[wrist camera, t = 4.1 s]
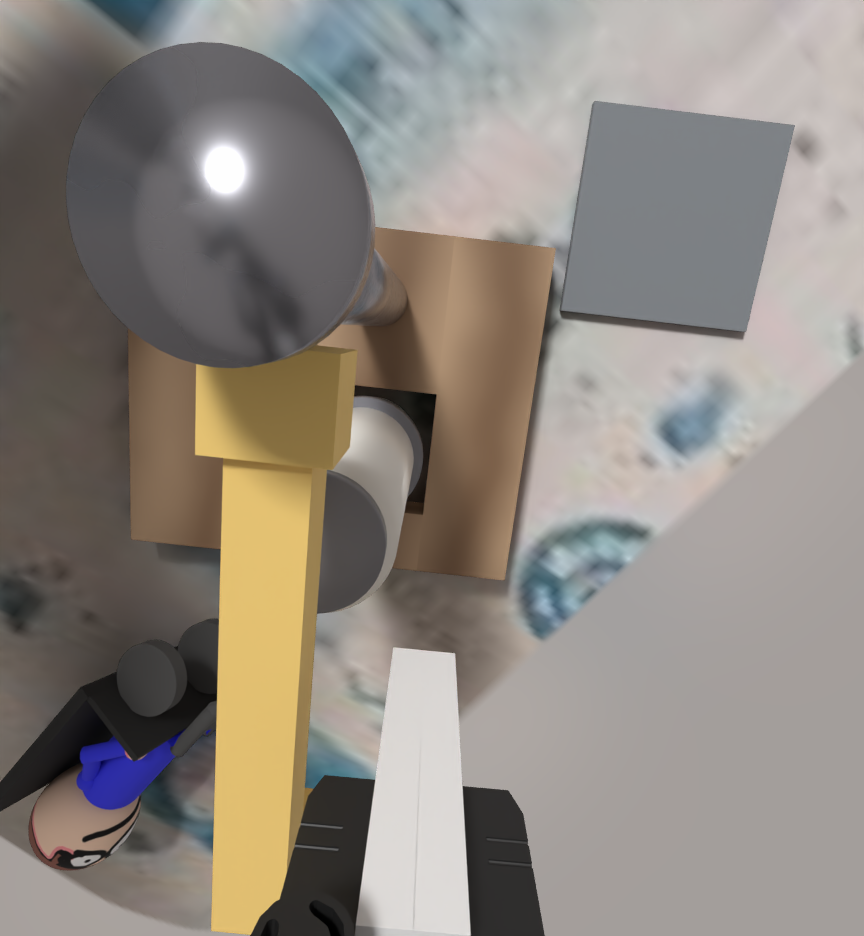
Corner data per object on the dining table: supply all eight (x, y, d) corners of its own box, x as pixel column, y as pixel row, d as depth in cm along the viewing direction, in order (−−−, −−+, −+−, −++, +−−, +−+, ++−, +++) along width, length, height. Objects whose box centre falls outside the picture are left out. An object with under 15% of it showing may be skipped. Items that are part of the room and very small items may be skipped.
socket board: (150, 526, 31) (130, 539, 29) (148, 207, 27) (125, 197, 25) (500, 564, 31) (504, 580, 29) (547, 253, 27) (555, 248, 25)
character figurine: (287, 645, 33) (134, 801, 36) (182, 569, 31) (31, 738, 34) (250, 750, 25) (61, 936, 28) (110, 656, 24) (-77, 864, 26)
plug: (317, 485, 30) (207, 625, 16) (324, 383, 29) (212, 435, 15) (419, 496, 30) (400, 646, 16) (430, 395, 29) (421, 459, 15)
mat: (559, 310, 28) (561, 310, 27) (592, 104, 26) (594, 101, 25) (741, 331, 28) (746, 331, 28) (789, 128, 26) (794, 125, 25)
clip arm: (238, 817, 16) (188, 940, 13) (257, 335, 13) (196, 337, 9) (326, 826, 16) (297, 952, 13) (365, 347, 13) (340, 354, 9)
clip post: (339, 334, 26) (72, 350, 7) (345, 253, 26) (59, 23, 6) (416, 343, 26) (355, 383, 7) (425, 262, 26) (381, 62, 6)
